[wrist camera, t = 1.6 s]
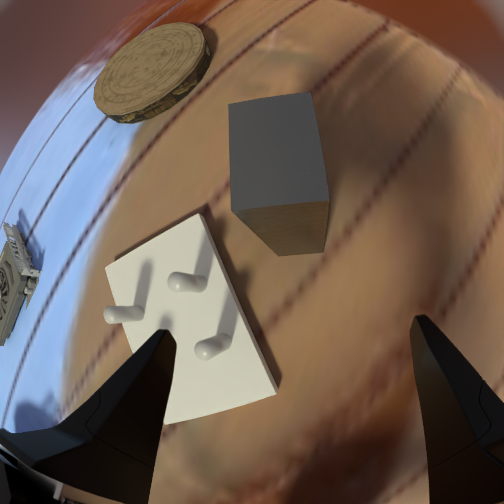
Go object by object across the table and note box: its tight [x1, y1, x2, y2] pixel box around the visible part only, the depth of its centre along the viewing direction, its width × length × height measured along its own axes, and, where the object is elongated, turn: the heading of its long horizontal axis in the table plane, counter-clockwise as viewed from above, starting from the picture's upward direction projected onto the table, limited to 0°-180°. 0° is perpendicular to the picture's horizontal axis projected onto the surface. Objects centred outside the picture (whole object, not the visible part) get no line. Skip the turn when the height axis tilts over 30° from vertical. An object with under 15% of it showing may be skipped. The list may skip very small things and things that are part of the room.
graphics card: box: [0, 222, 42, 346], centre depth 30 cm, size 17×4×12 cm
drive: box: [228, 92, 330, 256], centre depth 17 cm, size 5×4×13 cm
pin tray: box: [104, 213, 278, 425], centre depth 22 cm, size 16×11×5 cm
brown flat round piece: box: [93, 22, 212, 124], centre depth 29 cm, size 16×16×3 cm
